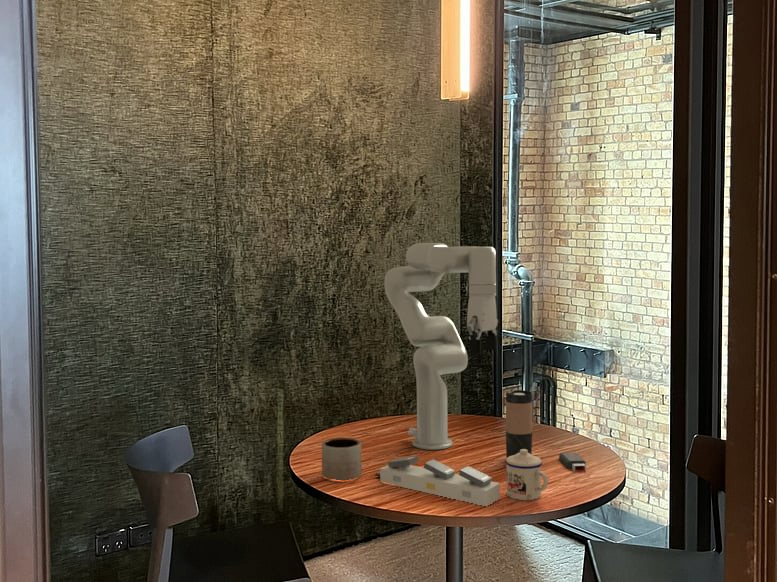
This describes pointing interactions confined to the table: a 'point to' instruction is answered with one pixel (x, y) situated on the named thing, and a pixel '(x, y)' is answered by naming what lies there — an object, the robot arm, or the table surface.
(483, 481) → the rocker right
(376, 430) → the table surface
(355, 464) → the planter
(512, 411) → the travel mug
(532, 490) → the teacup with lid
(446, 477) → the rocker middle
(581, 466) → the usb drive
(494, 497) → the power strip
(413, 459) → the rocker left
